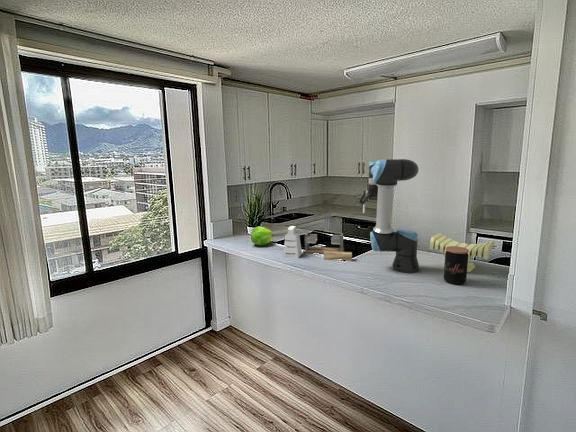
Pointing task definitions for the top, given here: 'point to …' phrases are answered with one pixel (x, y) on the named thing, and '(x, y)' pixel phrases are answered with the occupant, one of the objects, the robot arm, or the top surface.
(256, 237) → the lettuce
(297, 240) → the grater
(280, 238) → the top surface
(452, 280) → the coffee jar
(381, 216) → the robot arm
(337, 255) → the rail
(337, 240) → the bracket stand
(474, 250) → the slatted curved stool
